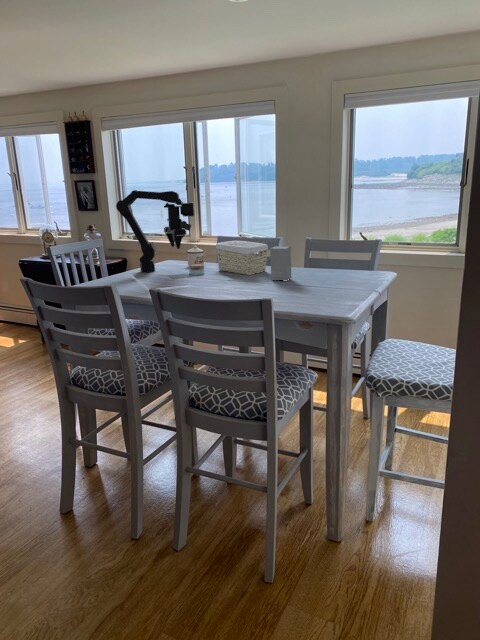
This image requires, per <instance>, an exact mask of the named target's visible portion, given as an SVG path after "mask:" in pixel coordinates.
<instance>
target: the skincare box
mask: <svg viewBox="0 0 480 640" xmlns="http://www.w3.org/2000/svg"><path fill="white" fill-rule="evenodd" d="M269 251H270V252H269V254H270V274H271V275H270V277H271V279H270V280H288V279H290V278H291V279H292V257H291V256H292V251H291V246H276V245H275V246H273V247H270V249H269ZM291 279H290V280H291Z"/></svg>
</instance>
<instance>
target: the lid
mask: <svg viewBox="0 0 480 640" xmlns="http://www.w3.org/2000/svg"><path fill="white" fill-rule="evenodd" d="M189 269H191V270H201V269H204V270H205V264H204V265H201V264H194V265H190V268H189Z"/></svg>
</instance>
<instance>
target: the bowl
mask: <svg viewBox="0 0 480 640" xmlns="http://www.w3.org/2000/svg"><path fill="white" fill-rule="evenodd" d="M188 271H189V273H188V275H191V276H192V275H193V276H201V275H204V274H205V268H204V269H201V270H191V269H190V268H189V269H188Z"/></svg>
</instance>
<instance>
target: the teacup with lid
mask: <svg viewBox="0 0 480 640" xmlns="http://www.w3.org/2000/svg"><path fill="white" fill-rule="evenodd" d="M186 251H187V252H186V253H187V267H188V268H189V269H190V265H194V264H201V265H204V266H205V264H204V263H205V262H204V261H205V260H206V253H204V250H203V249H201V248H199V247H198V246H197V245H194V246H193V247H192V248H190V249H188V250H186Z"/></svg>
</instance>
